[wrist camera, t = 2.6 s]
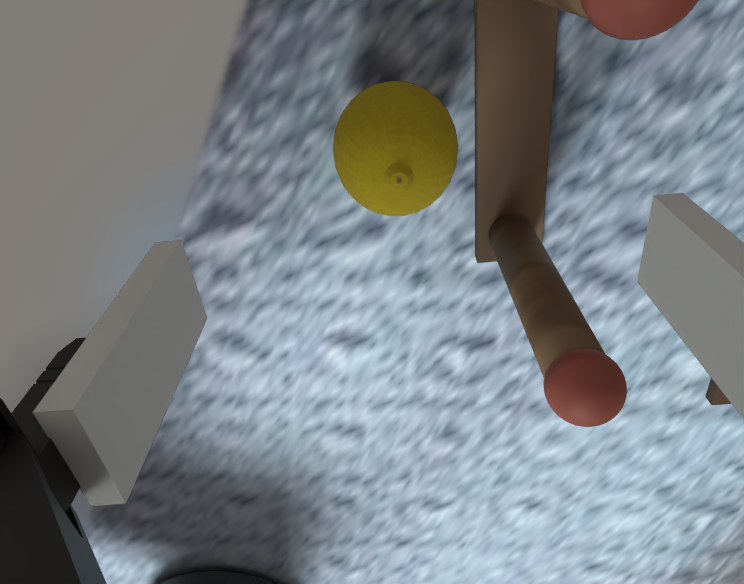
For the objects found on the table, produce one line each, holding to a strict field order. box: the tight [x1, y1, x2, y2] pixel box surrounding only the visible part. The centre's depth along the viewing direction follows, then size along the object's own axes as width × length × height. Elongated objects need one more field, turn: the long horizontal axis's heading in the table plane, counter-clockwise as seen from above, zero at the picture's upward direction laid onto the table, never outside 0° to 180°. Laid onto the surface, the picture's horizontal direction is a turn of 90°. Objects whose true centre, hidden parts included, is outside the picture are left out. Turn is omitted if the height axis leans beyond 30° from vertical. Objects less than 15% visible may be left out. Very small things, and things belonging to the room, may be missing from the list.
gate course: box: [474, 0, 731, 427], centre depth 24 cm, size 20×29×15 cm
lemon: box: [333, 81, 458, 216], centre depth 24 cm, size 6×6×8 cm
